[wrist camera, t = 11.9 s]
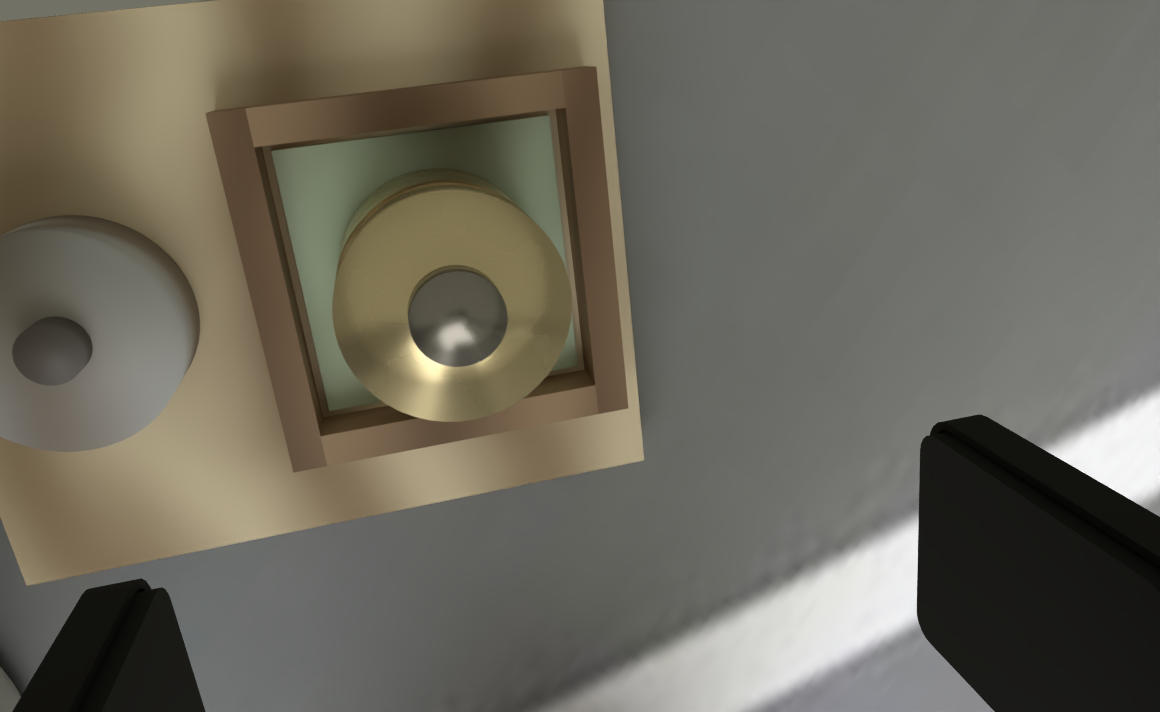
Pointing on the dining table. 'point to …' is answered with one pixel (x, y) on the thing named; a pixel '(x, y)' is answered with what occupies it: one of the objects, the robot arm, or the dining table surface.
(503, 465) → the carrier
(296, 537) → the dining table surface
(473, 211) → the gold round vessel
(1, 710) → the cylinder vase
